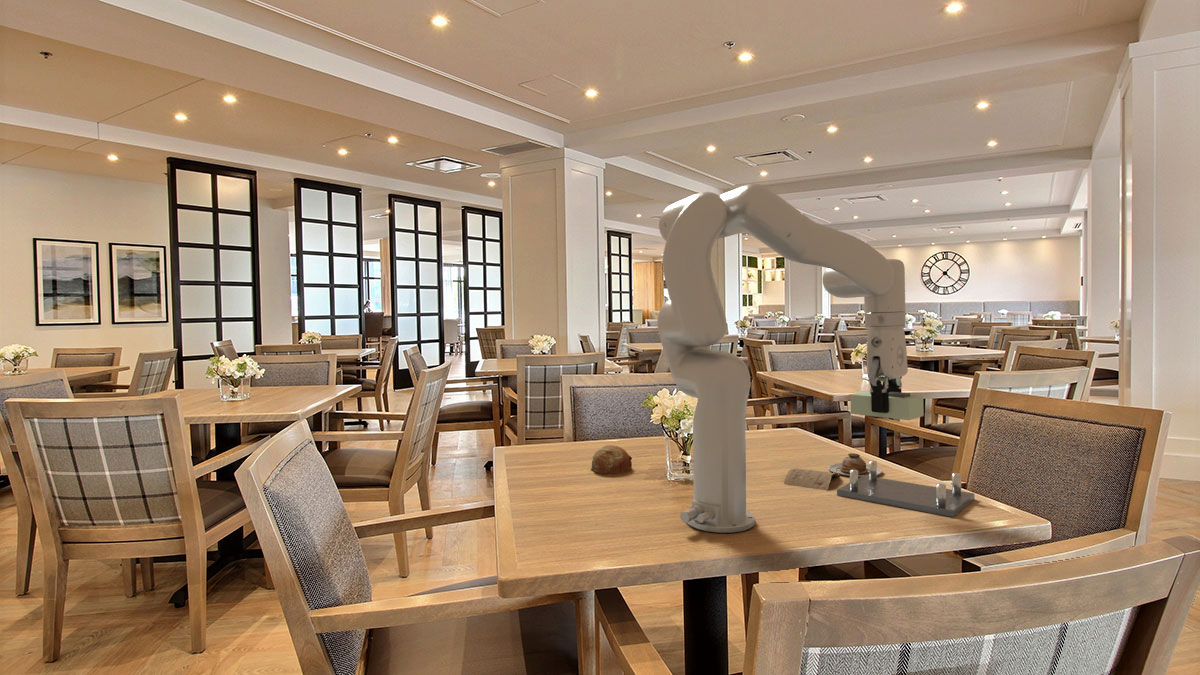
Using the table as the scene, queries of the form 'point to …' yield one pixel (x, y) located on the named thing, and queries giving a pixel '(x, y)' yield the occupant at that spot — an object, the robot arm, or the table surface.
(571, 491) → the table surface
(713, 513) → the robot arm
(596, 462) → the bread roll
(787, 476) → the curved roof tile
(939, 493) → the chassis
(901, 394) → the block
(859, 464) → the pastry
